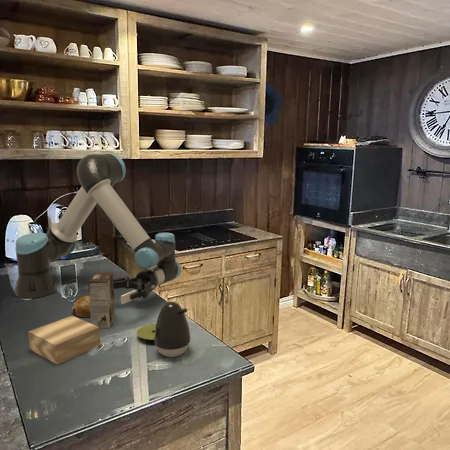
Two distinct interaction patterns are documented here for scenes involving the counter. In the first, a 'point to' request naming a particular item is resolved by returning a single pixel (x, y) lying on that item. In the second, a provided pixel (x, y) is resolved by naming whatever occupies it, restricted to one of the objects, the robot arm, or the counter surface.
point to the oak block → (64, 339)
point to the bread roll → (82, 307)
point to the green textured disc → (147, 332)
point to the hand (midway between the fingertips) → (106, 296)
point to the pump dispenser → (172, 330)
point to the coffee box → (102, 299)
